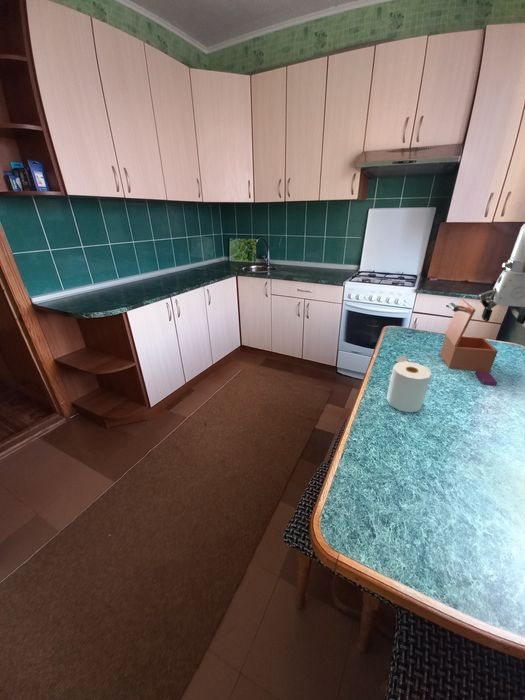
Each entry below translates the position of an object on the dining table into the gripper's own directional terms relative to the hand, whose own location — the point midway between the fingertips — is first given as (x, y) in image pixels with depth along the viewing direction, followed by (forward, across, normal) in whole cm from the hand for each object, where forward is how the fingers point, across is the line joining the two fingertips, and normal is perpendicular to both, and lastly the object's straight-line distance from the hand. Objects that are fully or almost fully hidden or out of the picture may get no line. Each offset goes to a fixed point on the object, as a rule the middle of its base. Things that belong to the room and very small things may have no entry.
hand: (502, 321), depth 93 cm
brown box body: (+22, -2, +11) cm, 24 cm away
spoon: (+22, -28, 0) cm, 35 cm away
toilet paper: (+22, -29, -21) cm, 42 cm away
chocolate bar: (+22, +1, -1) cm, 22 cm away
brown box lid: (+5, -7, +11) cm, 14 cm away
